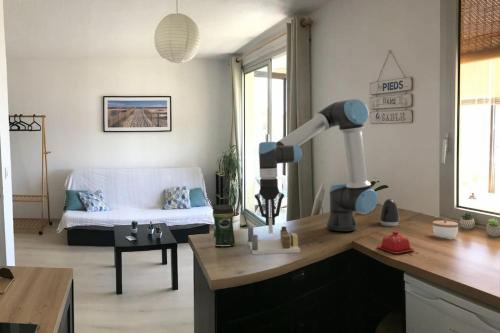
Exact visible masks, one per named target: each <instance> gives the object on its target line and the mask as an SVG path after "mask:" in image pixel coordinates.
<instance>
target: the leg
mask: <svg viewBox="0 0 500 333" xmlns="http://www.w3.org/2000/svg"><path fill="white" fill-rule="evenodd" d="M279 239H281V243H282V247H283V248H290V239H291V235H290V234H289V232H288V229H287V226H281V229H280V238H279Z"/></svg>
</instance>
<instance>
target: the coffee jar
mask: <svg viewBox="0 0 500 333" xmlns="http://www.w3.org/2000/svg"><path fill="white" fill-rule="evenodd" d="M212 208H213V209H212V217H213V221H214V222H213V224H214V225H213V242H212V243H214V244H215V245H233V244H234V245H235V244H236V242H235V232H234V222H233V221H234V220H233V218H234V216H235V212H234V205H232V204H216V205H213V207H212ZM214 244H213V245H214ZM234 245H233V246H234Z"/></svg>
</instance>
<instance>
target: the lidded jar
mask: <svg viewBox="0 0 500 333" xmlns="http://www.w3.org/2000/svg"><path fill="white" fill-rule="evenodd" d="M432 230H433V233H434V236H435V237H437V238H441V239H446V240H451V241H452V240H454V239H455V238H456V236H457V235H458V232H459V223H458V222H456V221H451V220H448V219H447V218H444V219H443V220H434V221H432Z"/></svg>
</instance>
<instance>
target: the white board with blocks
mask: <svg viewBox="0 0 500 333" xmlns="http://www.w3.org/2000/svg"><path fill="white" fill-rule="evenodd" d="M258 238H259V236H258V234H254V227H247V244H248V243H249V245H248V247H249V246H250V247H249V249H250V248H251V250H250V252H251V251H252V252H251V254H252V255H253V254H255V255H270V254H272V255H273V254H291V253H295V254H296V253H301V248H300V247H299V240H298V238H299V236H298V235H297V233H295V232H294V233H292V232H291V233H290V248H283V247H282V243H281V239H280V238H275V239H273V238H270V239H258Z"/></svg>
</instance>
